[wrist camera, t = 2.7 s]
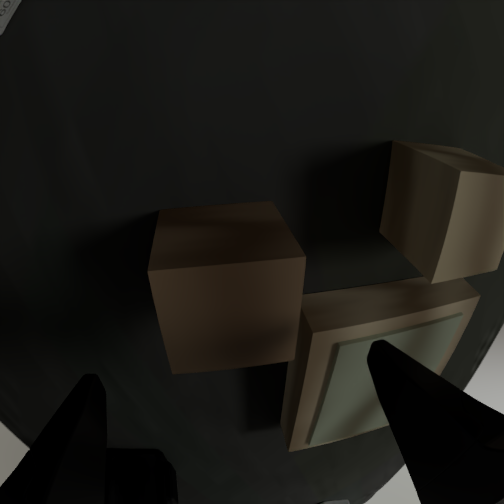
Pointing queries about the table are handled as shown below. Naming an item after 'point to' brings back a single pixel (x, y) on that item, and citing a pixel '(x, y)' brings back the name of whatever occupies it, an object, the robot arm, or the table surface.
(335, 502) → the tea box
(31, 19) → the table surface
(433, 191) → the oak block
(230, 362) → the walnut block
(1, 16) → the light bulb box
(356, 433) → the plinth
